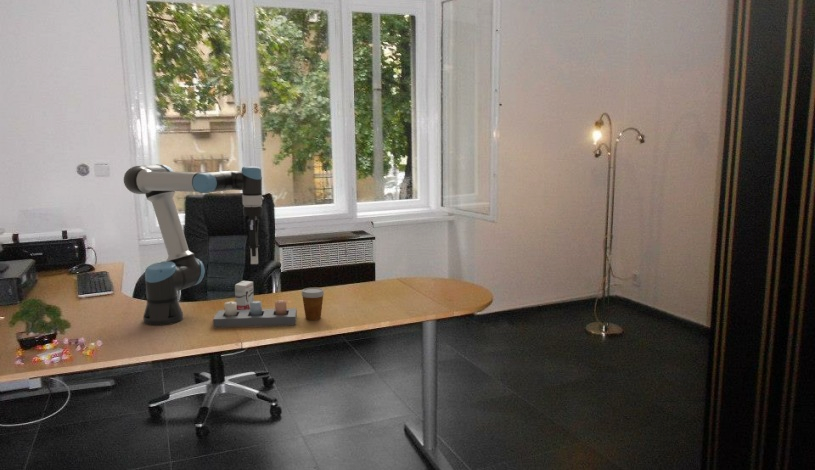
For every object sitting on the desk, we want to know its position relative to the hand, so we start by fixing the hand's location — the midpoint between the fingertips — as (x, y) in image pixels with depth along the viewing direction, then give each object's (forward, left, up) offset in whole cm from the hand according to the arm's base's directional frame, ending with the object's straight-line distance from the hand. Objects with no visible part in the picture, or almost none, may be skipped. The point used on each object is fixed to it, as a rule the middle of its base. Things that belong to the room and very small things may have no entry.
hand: (254, 263), depth 238 cm
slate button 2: (0, 0, -21) cm, 21 cm away
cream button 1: (-10, 0, -21) cm, 23 cm away
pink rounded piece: (+10, 0, -21) cm, 23 cm away
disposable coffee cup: (+23, +3, -25) cm, 34 cm away
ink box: (-7, +19, -25) cm, 32 cm away
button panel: (0, 0, -24) cm, 24 cm away
